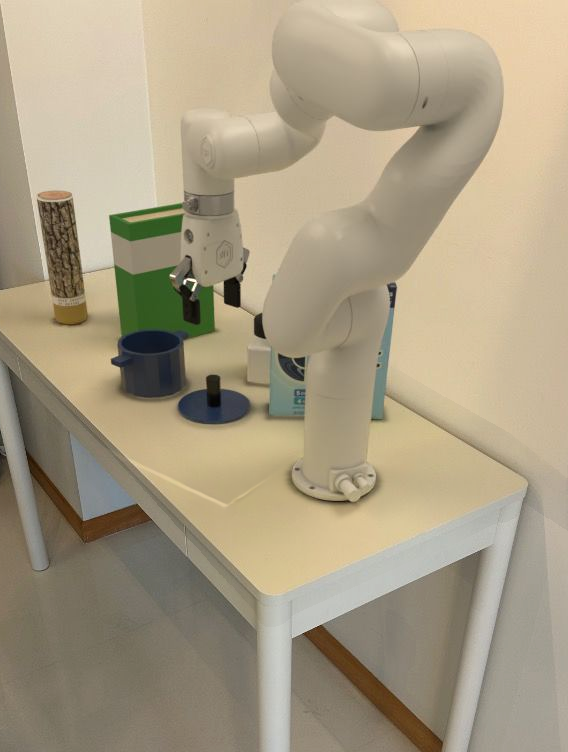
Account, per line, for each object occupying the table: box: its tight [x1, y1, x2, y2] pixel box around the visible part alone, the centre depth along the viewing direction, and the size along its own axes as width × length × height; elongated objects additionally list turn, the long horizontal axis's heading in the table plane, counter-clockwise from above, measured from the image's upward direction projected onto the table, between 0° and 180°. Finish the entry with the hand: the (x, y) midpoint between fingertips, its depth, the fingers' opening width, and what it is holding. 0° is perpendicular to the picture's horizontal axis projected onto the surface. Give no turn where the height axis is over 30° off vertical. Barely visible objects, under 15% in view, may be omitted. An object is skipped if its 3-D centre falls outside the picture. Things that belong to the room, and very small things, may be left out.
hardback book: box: [108, 202, 216, 339], centre depth 157 cm, size 18×7×24 cm, turn 127°
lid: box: [177, 374, 251, 425], centre depth 136 cm, size 12×12×6 cm
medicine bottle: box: [246, 312, 271, 385], centre depth 145 cm, size 7×7×12 cm
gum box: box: [268, 274, 398, 420], centre depth 132 cm, size 20×5×23 cm, turn 90°
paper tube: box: [36, 190, 89, 325], centre depth 163 cm, size 7×7×25 cm
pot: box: [110, 329, 190, 399], centre depth 143 cm, size 11×17×8 cm
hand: (212, 313), depth 130 cm, fingers open, 9 cm apart
